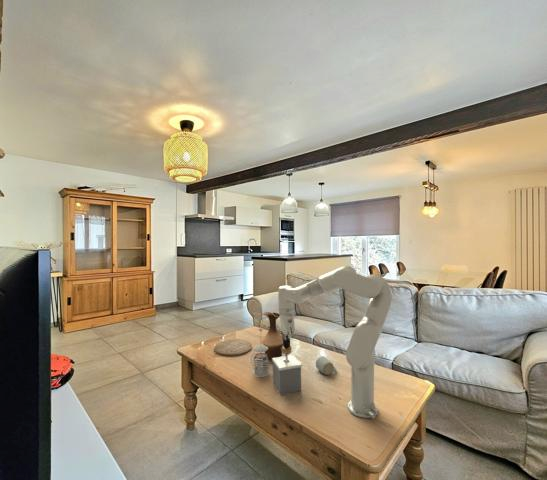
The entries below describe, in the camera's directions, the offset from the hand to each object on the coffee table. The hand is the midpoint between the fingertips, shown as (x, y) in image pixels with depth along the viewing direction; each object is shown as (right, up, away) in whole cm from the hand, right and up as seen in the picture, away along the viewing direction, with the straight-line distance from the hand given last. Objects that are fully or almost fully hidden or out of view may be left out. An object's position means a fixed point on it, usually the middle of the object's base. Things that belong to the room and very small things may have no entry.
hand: (286, 346), depth 144 cm
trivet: (-34, -20, +49) cm, 63 cm away
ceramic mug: (+23, -20, +16) cm, 35 cm away
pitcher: (-7, -20, +36) cm, 42 cm away
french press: (-14, -21, +15) cm, 29 cm away
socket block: (-1, -21, +3) cm, 21 cm away
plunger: (0, -18, +1) cm, 18 cm away
